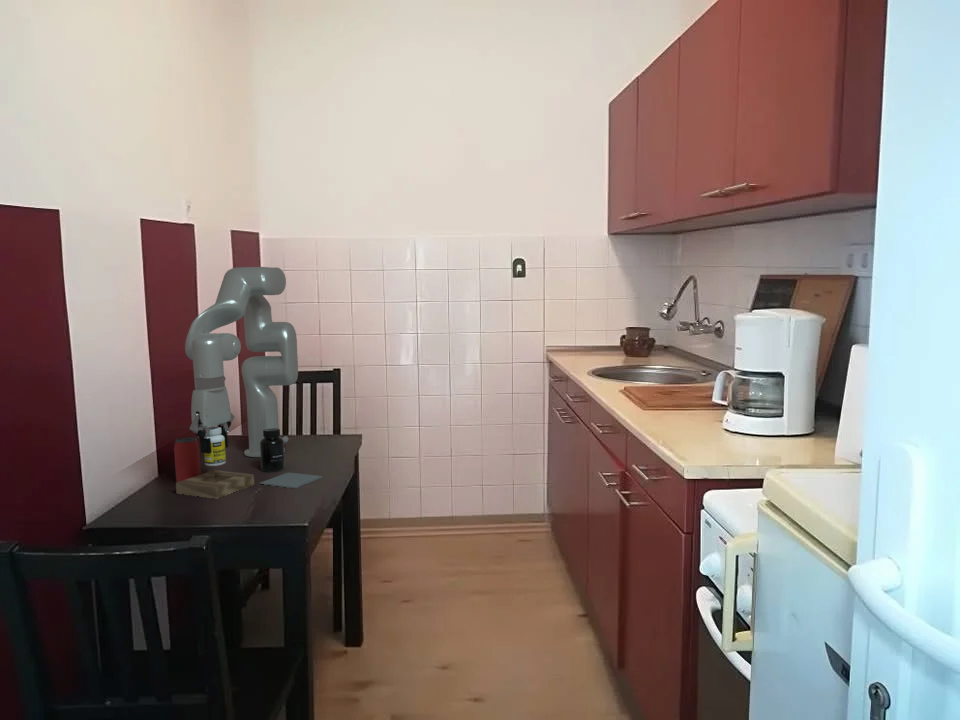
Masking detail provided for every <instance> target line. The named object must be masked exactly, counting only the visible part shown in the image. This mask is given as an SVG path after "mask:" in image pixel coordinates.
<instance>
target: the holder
mask: <svg viewBox="0 0 960 720" xmlns="http://www.w3.org/2000/svg"><path fill="white" fill-rule="evenodd" d="M254 476H255V475H254V473H253V474H252V473H251V474H250V473H243V472H233V471H225V470H218V469H215V470H211V471H207V472H206V473H205V472H204V473H201V475H198V476H195V477H192V478H189V479H186V480H183V481H180V482H177V481H176V482H175V489H176V490H175V491H176V493H175V494H177V495H182V494H184V495H185V496H190V495H191V497H197V496H199V497H200V498H205V497H206V499H212V498H214V499H215V500H218V499H221V498H223V496H224V497H226V496H229V495H231V493H232V494H234V493H233V492H235V493H237V492H240V491H243V490H245V489H248V488H250V486H251V487H253V485H254V486H255V477H254ZM242 489H243V490H242ZM239 490H240V491H239ZM236 491H237V492H236ZM228 494H229V495H228ZM220 497H221V498H220Z"/></svg>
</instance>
